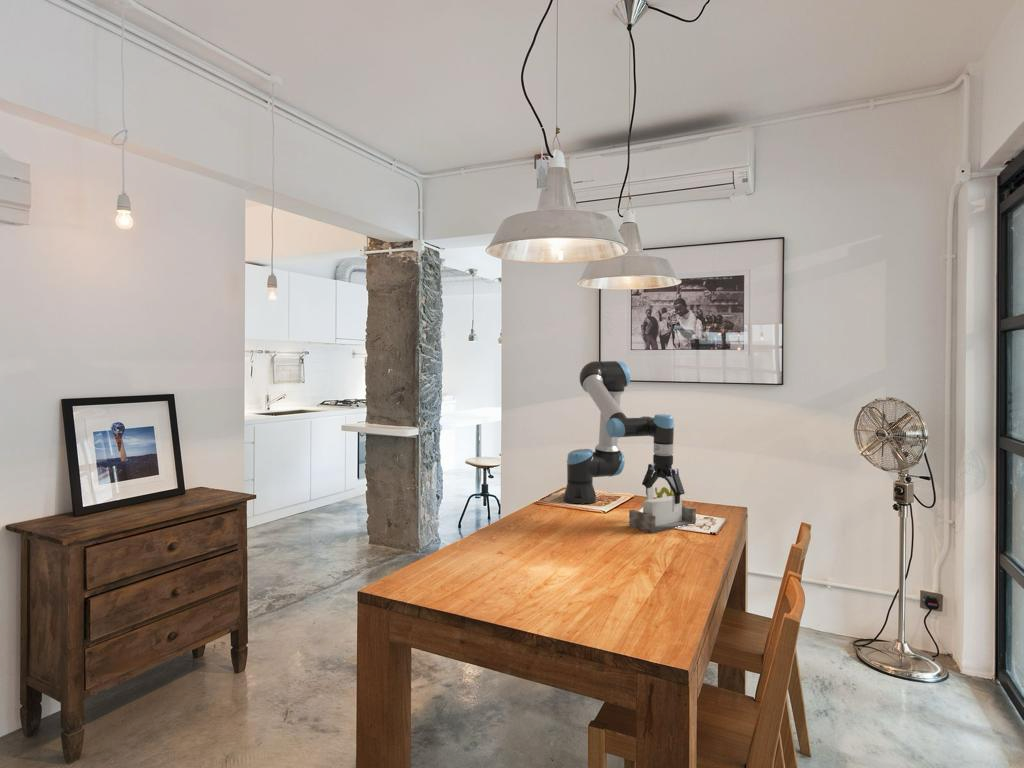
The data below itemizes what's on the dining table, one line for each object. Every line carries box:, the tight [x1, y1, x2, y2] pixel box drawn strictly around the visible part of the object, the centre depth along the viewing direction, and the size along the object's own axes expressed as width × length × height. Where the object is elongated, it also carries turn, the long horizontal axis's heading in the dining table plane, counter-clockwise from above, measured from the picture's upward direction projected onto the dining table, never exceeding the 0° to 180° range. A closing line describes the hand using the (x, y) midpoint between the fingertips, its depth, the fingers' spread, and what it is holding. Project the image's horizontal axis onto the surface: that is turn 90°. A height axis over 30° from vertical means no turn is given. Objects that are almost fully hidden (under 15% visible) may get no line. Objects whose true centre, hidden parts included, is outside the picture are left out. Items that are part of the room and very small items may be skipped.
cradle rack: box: [628, 504, 697, 534], centre depth 235 cm, size 12×24×6 cm, turn 122°
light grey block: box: [642, 496, 683, 526], centre depth 235 cm, size 5×16×9 cm, turn 122°
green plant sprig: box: [654, 486, 674, 498], centre depth 266 cm, size 18×5×10 cm, turn 19°
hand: (662, 507), depth 235 cm, fingers open, 13 cm apart
